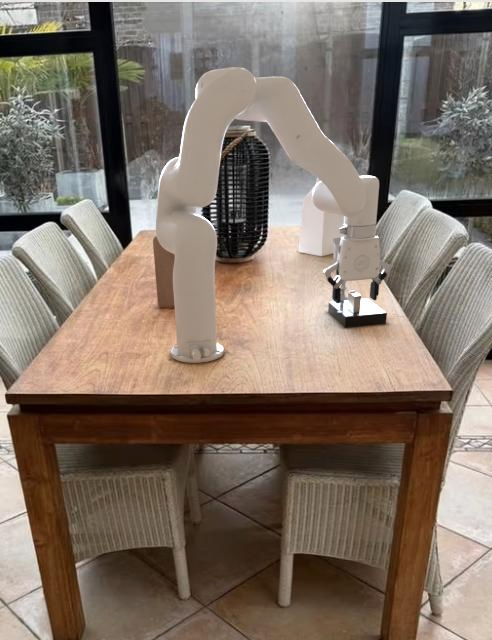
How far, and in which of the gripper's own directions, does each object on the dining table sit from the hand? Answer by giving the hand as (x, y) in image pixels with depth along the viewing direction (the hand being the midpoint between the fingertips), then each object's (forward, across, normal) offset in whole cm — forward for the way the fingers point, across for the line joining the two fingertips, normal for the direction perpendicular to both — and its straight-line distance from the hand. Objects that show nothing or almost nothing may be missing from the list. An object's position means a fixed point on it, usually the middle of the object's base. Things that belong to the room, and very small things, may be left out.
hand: (354, 300), depth 169 cm
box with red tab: (+3, 0, 0) cm, 3 cm away
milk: (+6, +17, +84) cm, 86 cm away
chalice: (+6, +2, +15) cm, 16 cm away
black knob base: (+6, +2, +3) cm, 7 cm away
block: (+6, -43, +31) cm, 53 cm away
